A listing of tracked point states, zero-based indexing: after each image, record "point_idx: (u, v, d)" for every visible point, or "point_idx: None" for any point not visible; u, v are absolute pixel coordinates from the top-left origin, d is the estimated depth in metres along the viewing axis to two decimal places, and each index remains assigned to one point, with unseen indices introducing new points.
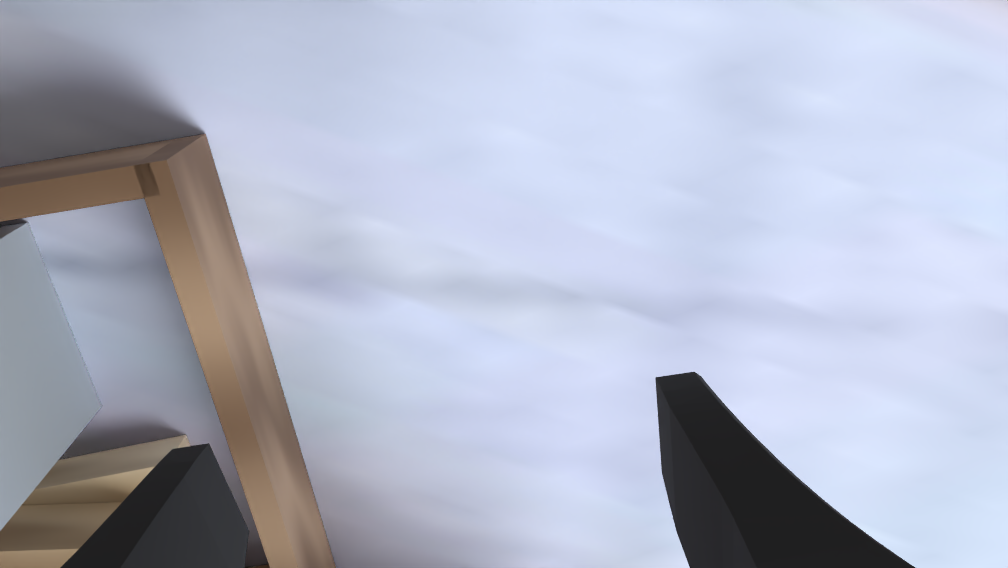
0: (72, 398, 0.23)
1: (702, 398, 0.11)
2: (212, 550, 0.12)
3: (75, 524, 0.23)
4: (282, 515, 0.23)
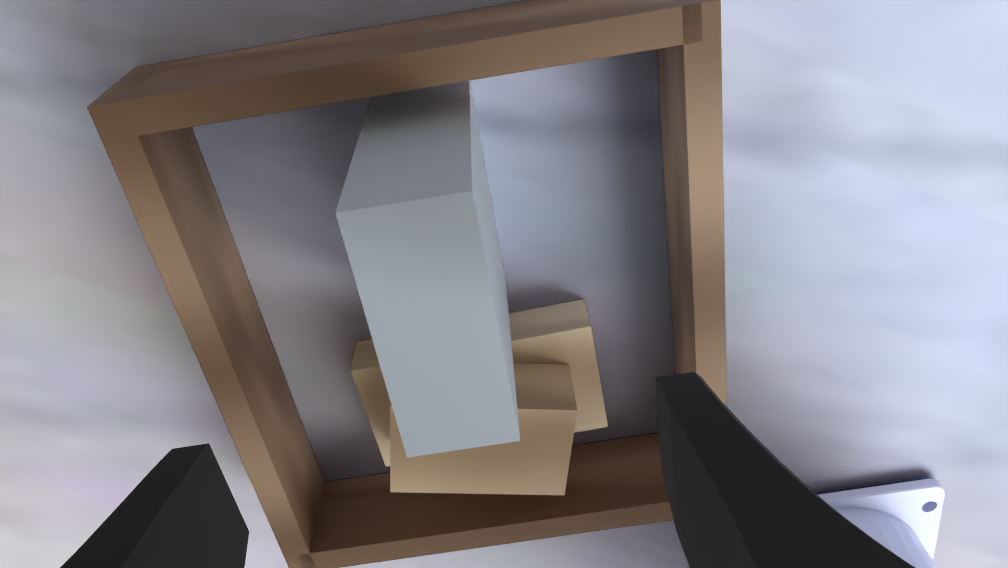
0: (502, 269, 0.22)
1: (702, 398, 0.11)
2: (212, 550, 0.12)
3: None
4: (725, 387, 0.22)
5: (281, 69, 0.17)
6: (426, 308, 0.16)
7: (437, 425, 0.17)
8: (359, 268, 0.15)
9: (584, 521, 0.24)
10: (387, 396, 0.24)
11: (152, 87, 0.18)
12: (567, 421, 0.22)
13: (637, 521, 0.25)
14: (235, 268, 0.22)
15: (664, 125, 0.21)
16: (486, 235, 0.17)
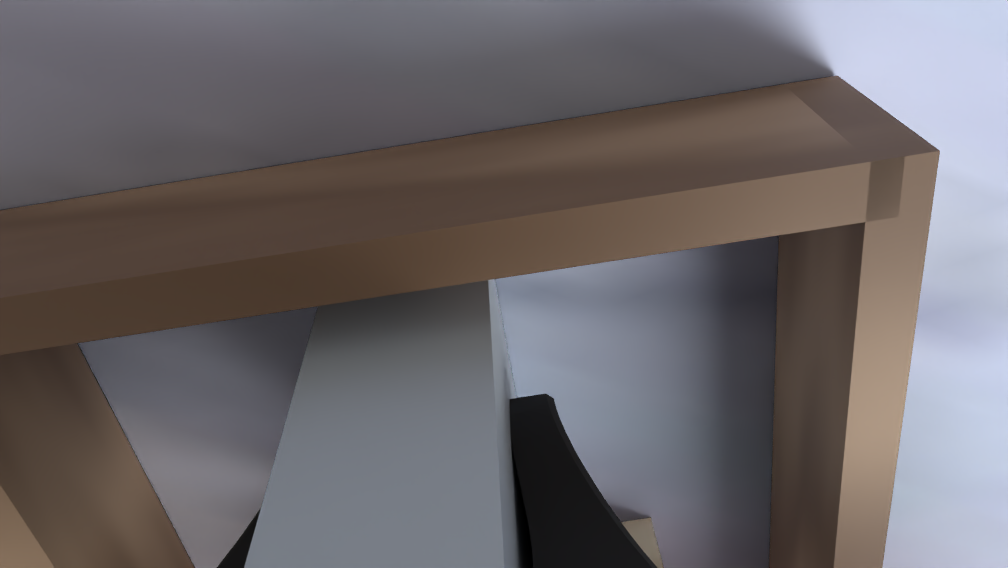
0: None
1: (542, 421, 0.11)
2: None
3: None
4: None
5: (167, 257, 0.10)
6: None
7: None
8: None
9: None
10: None
11: None
12: None
13: None
14: (134, 492, 0.15)
15: (786, 298, 0.13)
16: None
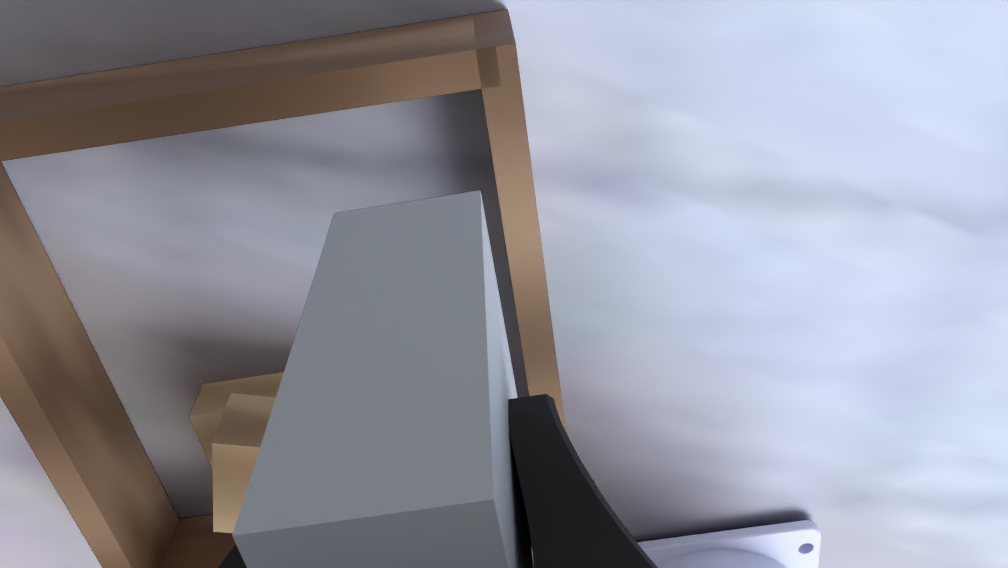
0: None
1: (542, 421, 0.11)
2: None
3: None
4: None
5: (60, 107, 0.17)
6: None
7: None
8: None
9: None
10: None
11: None
12: None
13: None
14: (57, 304, 0.21)
15: None
16: (512, 501, 0.10)
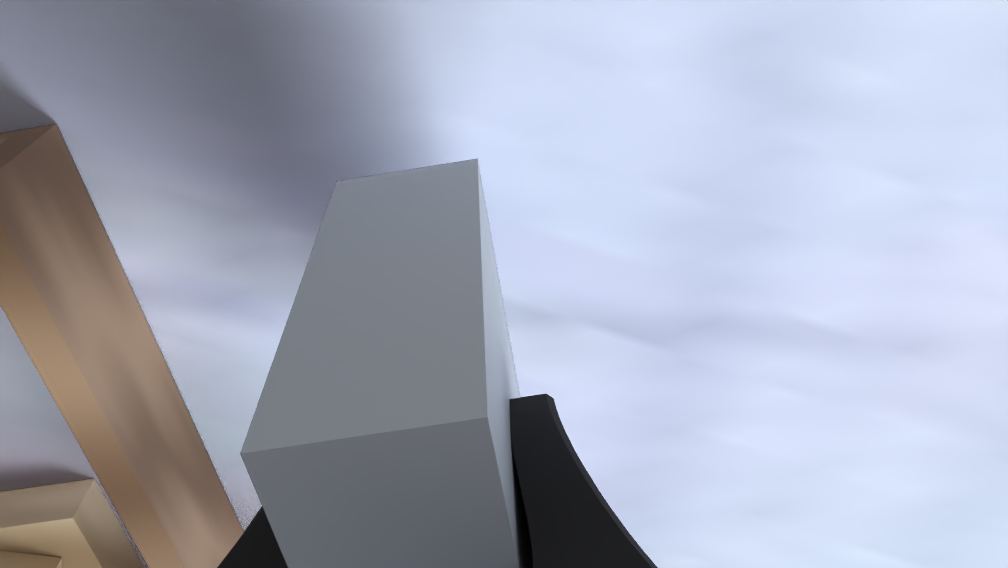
0: None
1: (542, 421, 0.11)
2: None
3: None
4: None
5: None
6: None
7: None
8: (288, 535, 0.09)
9: None
10: None
11: None
12: None
13: None
14: None
15: None
16: (506, 440, 0.10)
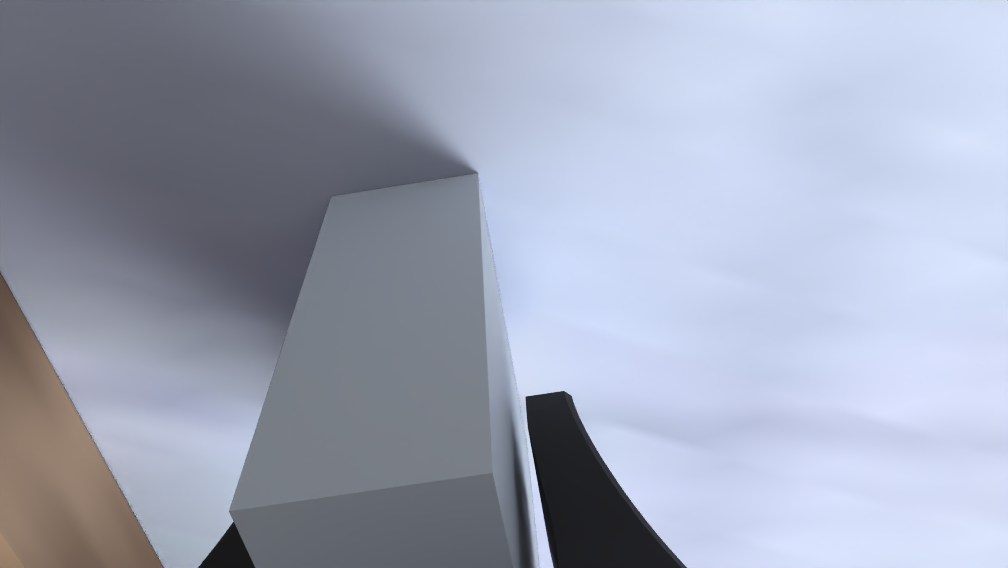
0: (524, 445, 0.15)
1: (561, 418, 0.11)
2: None
3: None
4: None
5: None
6: None
7: None
8: None
9: None
10: None
11: None
12: None
13: None
14: None
15: None
16: (511, 480, 0.10)
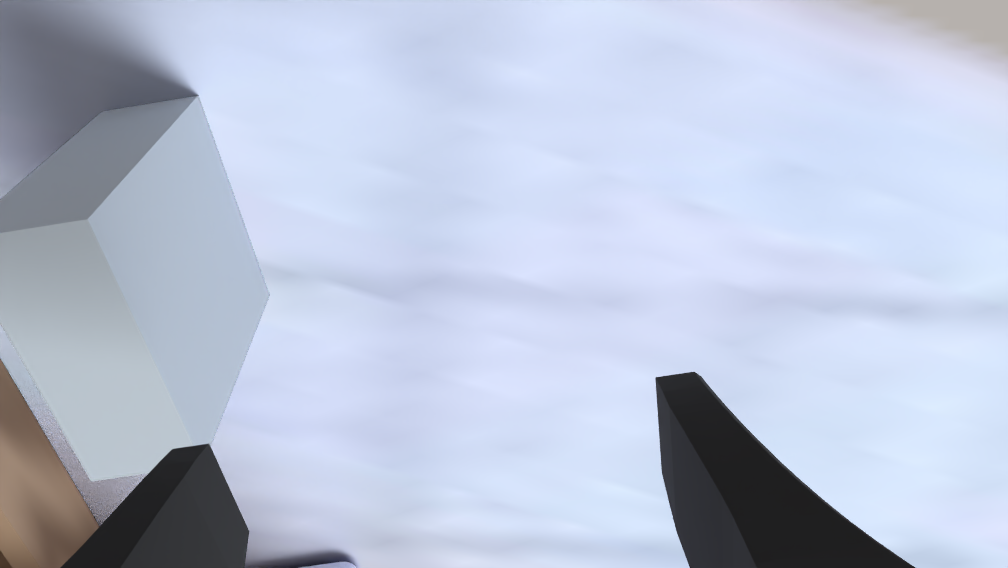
0: (249, 288, 0.22)
1: (702, 398, 0.11)
2: (212, 550, 0.12)
3: None
4: None
5: None
6: (71, 335, 0.16)
7: (114, 450, 0.17)
8: None
9: None
10: None
11: None
12: None
13: None
14: None
15: None
16: (156, 259, 0.17)
